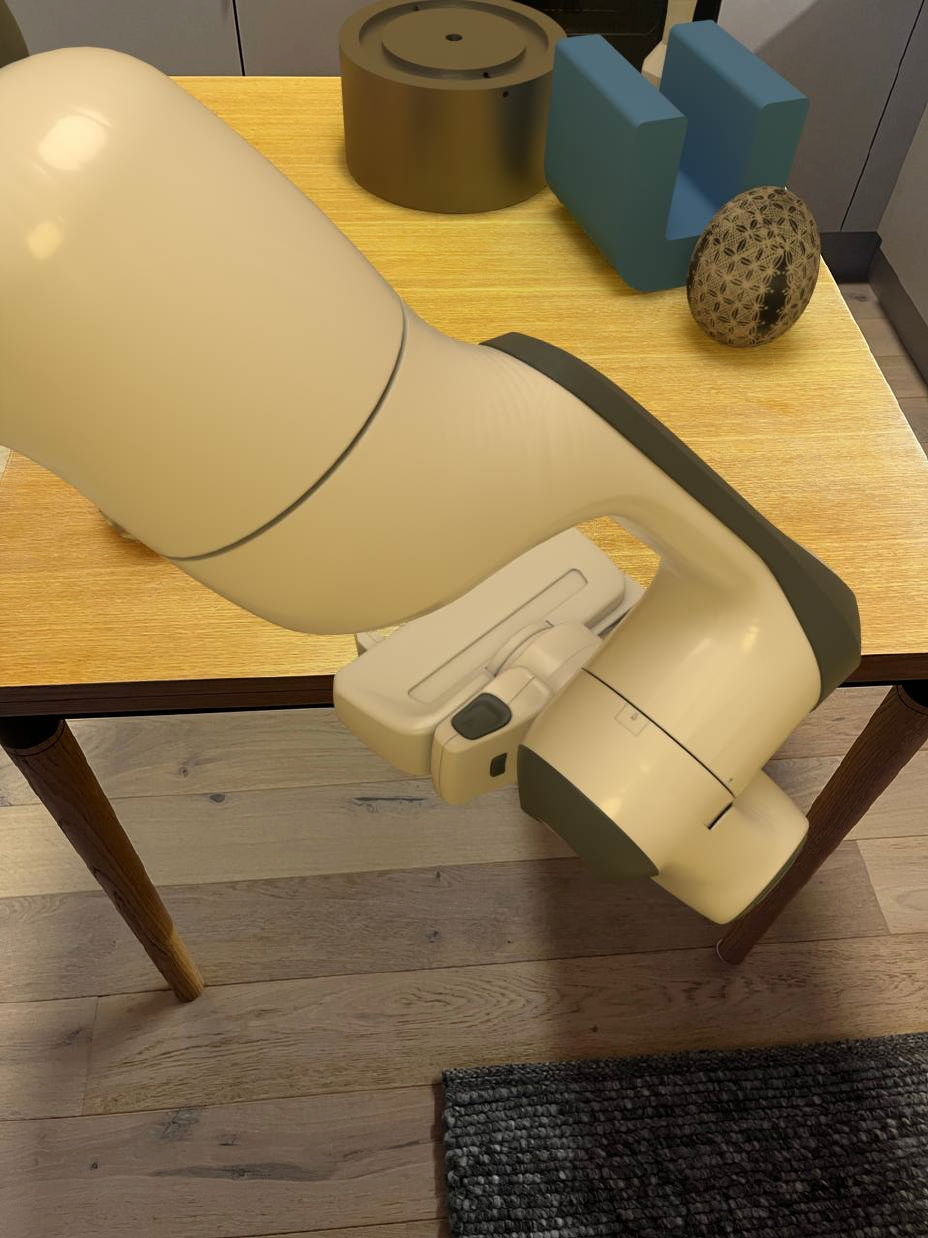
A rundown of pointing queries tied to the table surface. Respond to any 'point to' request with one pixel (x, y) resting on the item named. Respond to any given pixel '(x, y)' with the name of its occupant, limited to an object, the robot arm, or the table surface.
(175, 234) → the robot arm
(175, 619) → the table surface
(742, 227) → the decorative egg
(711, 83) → the block
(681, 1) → the low poly bottle
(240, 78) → the table surface
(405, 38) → the container
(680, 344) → the table surface
